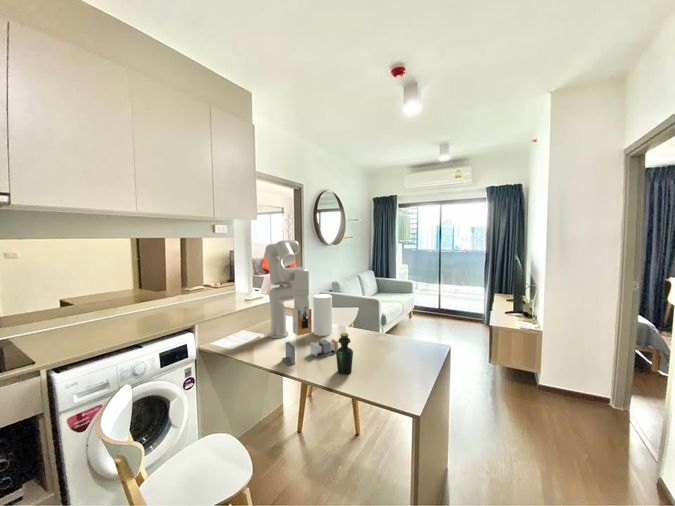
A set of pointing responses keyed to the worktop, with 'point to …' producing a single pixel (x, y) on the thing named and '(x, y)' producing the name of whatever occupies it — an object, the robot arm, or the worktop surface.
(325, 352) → the guide block
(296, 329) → the small box
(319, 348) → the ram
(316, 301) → the cylinder
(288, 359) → the plate
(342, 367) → the potion bottle
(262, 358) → the worktop surface
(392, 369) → the worktop surface
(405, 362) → the worktop surface
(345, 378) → the worktop surface
